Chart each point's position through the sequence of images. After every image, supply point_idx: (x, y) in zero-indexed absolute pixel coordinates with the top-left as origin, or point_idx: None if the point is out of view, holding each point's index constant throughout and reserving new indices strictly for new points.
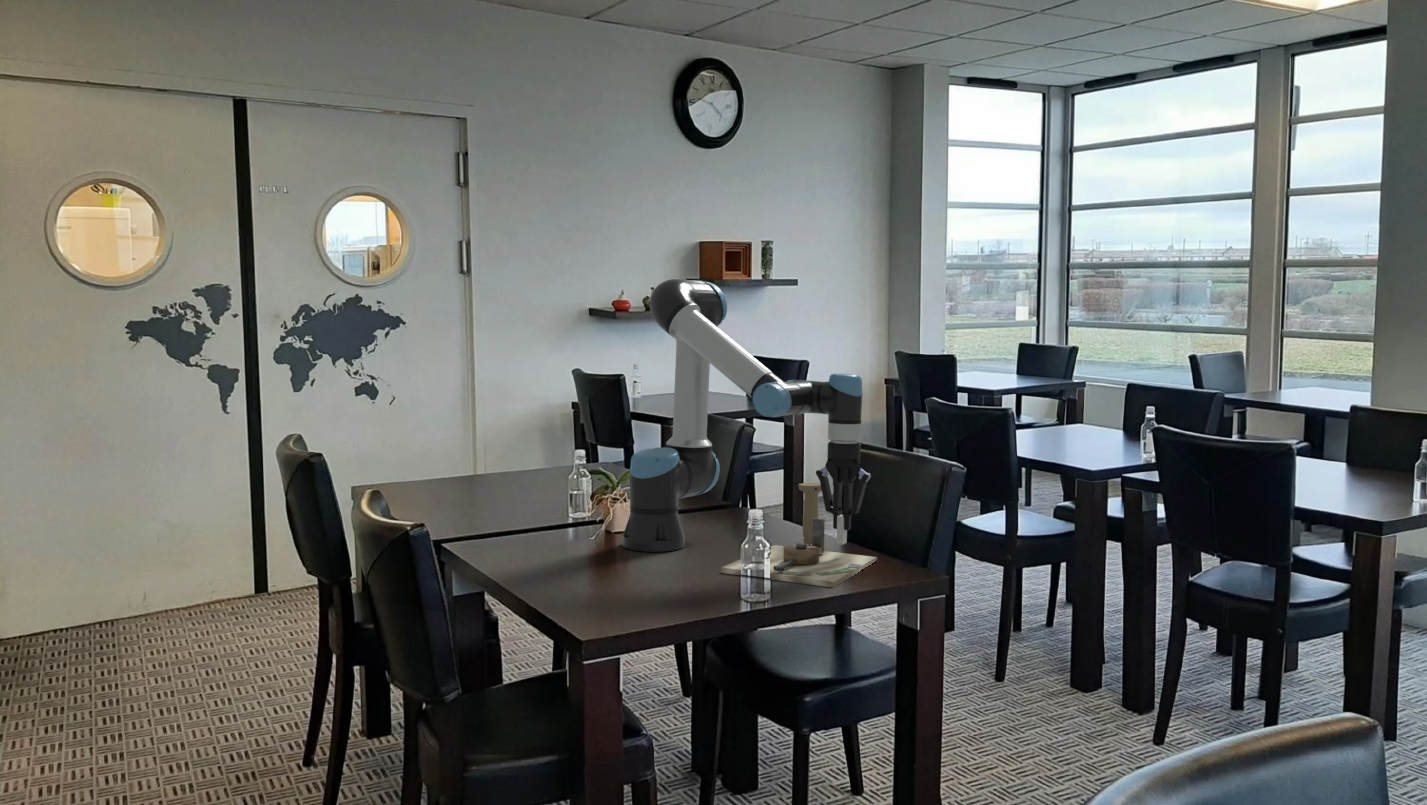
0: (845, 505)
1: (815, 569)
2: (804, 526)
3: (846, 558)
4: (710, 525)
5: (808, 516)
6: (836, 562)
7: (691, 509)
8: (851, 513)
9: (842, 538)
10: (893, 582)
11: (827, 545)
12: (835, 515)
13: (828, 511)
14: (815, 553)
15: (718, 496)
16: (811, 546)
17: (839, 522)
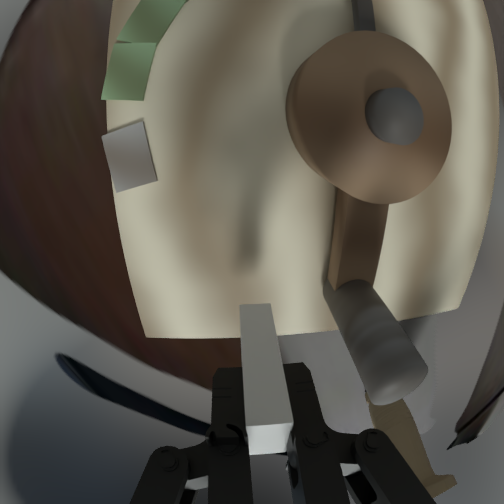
0: (236, 501)
1: (251, 15)
2: (406, 409)
3: (219, 272)
4: (498, 370)
5: (407, 432)
6: (224, 183)
7: (492, 402)
8: (193, 455)
9: (241, 324)
10: (5, 112)
11: (341, 400)
12: (310, 427)
13: (364, 432)
14: (300, 80)
15: (456, 442)
16: (362, 185)
17: (269, 390)
